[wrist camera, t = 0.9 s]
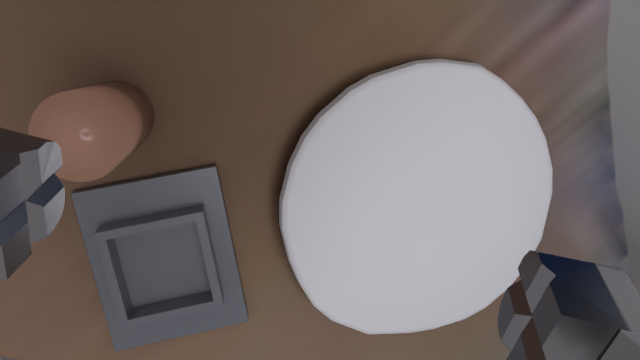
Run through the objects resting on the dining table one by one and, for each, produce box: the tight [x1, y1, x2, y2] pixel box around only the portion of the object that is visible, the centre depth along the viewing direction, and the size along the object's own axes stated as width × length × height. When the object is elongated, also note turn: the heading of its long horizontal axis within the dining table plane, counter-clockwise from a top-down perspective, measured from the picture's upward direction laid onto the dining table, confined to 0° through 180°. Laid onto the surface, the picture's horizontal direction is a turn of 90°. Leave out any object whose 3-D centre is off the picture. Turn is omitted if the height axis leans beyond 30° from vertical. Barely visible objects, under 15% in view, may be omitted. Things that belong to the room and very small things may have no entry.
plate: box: [279, 59, 553, 334], centre depth 52 cm, size 28×6×27 cm
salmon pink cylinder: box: [28, 82, 154, 182], centre depth 41 cm, size 6×6×14 cm
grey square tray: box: [71, 164, 249, 351], centre depth 50 cm, size 16×13×4 cm
